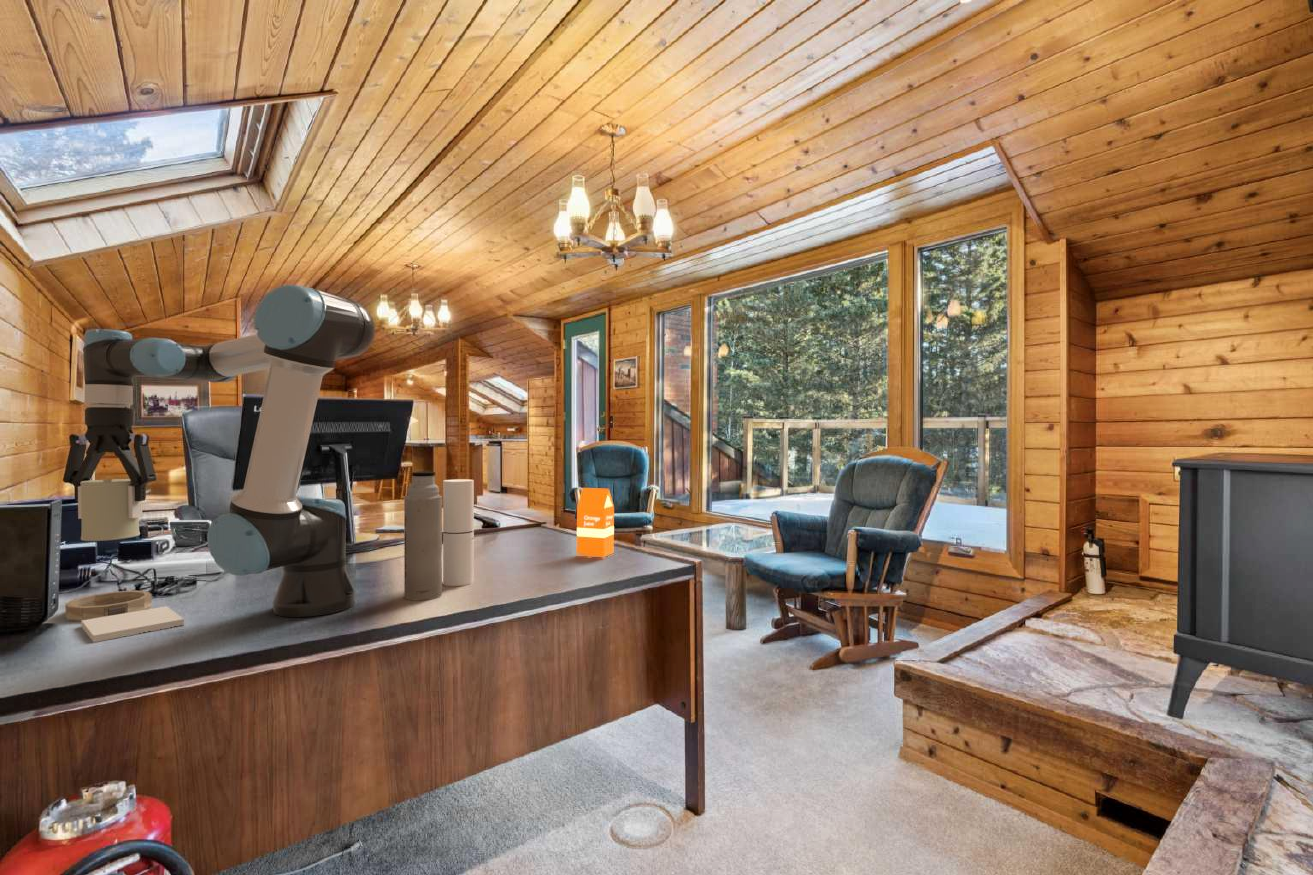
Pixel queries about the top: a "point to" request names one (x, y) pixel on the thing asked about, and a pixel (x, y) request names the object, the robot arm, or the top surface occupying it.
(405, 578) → the thermos bottle
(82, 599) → the collar
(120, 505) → the can
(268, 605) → the top surface
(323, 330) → the robot arm
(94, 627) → the beige base plate
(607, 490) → the orange juice
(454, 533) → the cylindrical container
